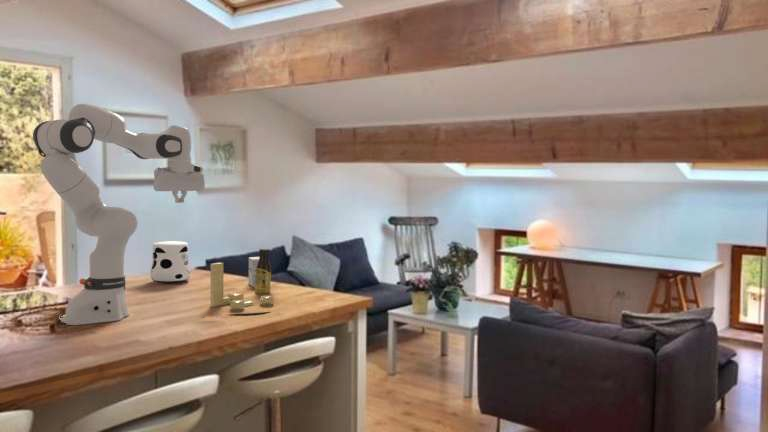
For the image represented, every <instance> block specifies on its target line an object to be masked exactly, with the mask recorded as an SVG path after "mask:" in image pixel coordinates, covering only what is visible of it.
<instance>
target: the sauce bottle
mask: <svg viewBox="0 0 768 432" xmlns="http://www.w3.org/2000/svg"><path fill="white" fill-rule="evenodd" d="M258 251H259V252H258V253H259V257H260V258H259V261H258V264H257V267H256V279H255V287H254V292H255V294H258V295H259V294H260V295H261V294H262V295H265V294H270V293H271V282H272V281H271V279H272V265H271V262H270V259H269V258H270V257H269V254H270V248H265V247H262V248H259V249H258Z"/></svg>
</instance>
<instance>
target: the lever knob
mask: <svg viewBox="0 0 768 432" xmlns="http://www.w3.org/2000/svg"><path fill="white" fill-rule="evenodd" d="M234 300H242V301H244V302H245V300H244V293H242V292H231V293H228V294H227V296H224V262H214V263H210V307H212V308H216V307H220V306H225V305H230V302H231V301H234Z"/></svg>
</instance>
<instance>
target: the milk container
mask: <svg viewBox="0 0 768 432" xmlns="http://www.w3.org/2000/svg"><path fill="white" fill-rule="evenodd" d="M151 253H152V263H151V267H150V277H151V278H150V279H151V280H152V281H153V282H154V283H159V284H178V283H182V282H183V283H184V282H186V281H188V280H189V279H190V275H191V268H190V264H189V244H188V242H186V241H177V240H176V241H175V240H174V241H170V240H169V241H158V242H154V243H153V244H152V252H151Z"/></svg>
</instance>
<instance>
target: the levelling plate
mask: <svg viewBox="0 0 768 432" xmlns="http://www.w3.org/2000/svg"><path fill="white" fill-rule="evenodd" d="M229 306H230V309H229V310H230V311H231V312H241V311H244V310H245V307H248V306H249V307H250V306H254V301H251V300H250V301H245V300H244V301H242V300H234V301H231V302H230V304H229ZM259 306H261V307H270V306H274V296H272V295H261V296H260V297H259ZM270 313H271V311H267V312H265V311H263V312H249V313H248V312H247V313H246V312H245V313H233V314H228V316H232V317H233V316H235V317H246V316H247V317H248V316H249V317H251V316H253V317H254V316H260V315H261V316H262V315H266V314H270Z"/></svg>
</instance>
